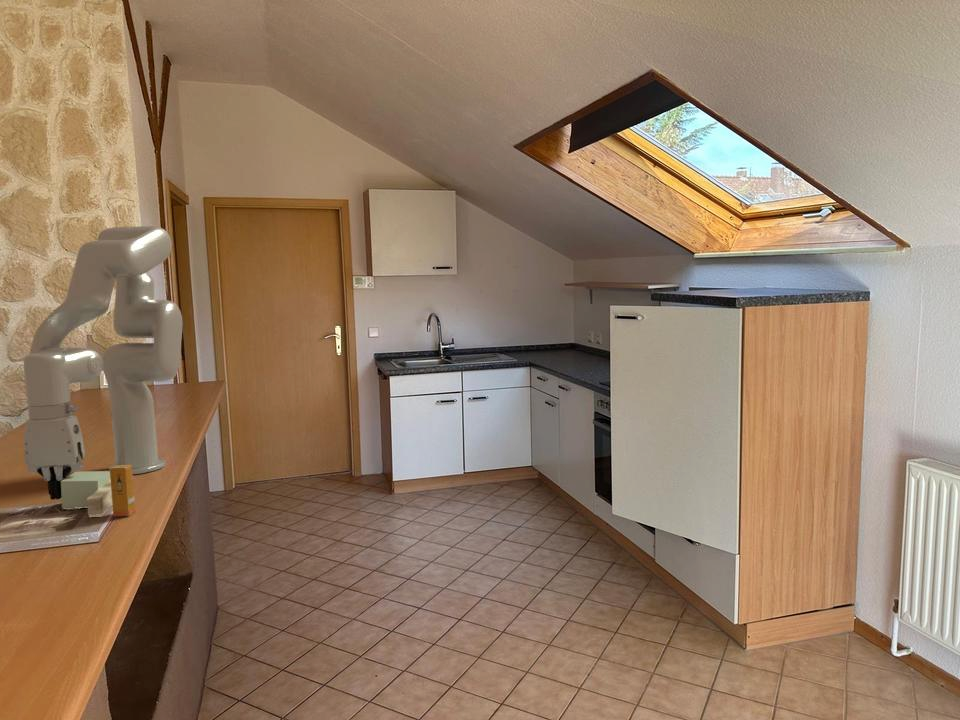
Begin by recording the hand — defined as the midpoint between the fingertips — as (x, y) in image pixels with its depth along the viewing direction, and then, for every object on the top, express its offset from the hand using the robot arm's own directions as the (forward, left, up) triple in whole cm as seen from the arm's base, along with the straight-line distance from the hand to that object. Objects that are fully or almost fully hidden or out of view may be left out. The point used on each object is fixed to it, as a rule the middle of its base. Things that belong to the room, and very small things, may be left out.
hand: (58, 497), depth 142 cm
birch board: (0, +11, -2) cm, 11 cm away
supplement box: (+8, +16, -2) cm, 18 cm away
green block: (0, +6, -2) cm, 6 cm away
